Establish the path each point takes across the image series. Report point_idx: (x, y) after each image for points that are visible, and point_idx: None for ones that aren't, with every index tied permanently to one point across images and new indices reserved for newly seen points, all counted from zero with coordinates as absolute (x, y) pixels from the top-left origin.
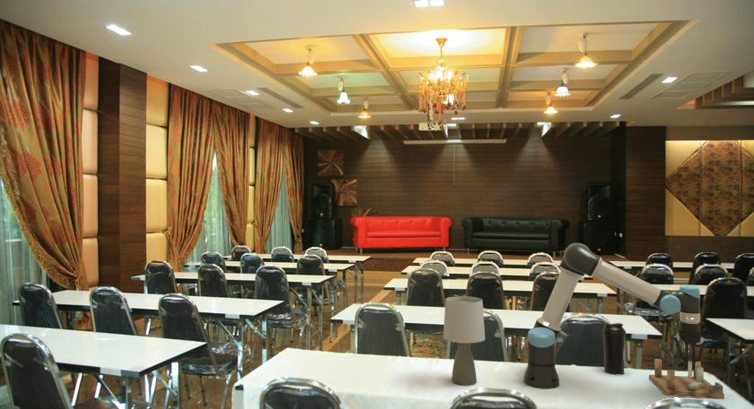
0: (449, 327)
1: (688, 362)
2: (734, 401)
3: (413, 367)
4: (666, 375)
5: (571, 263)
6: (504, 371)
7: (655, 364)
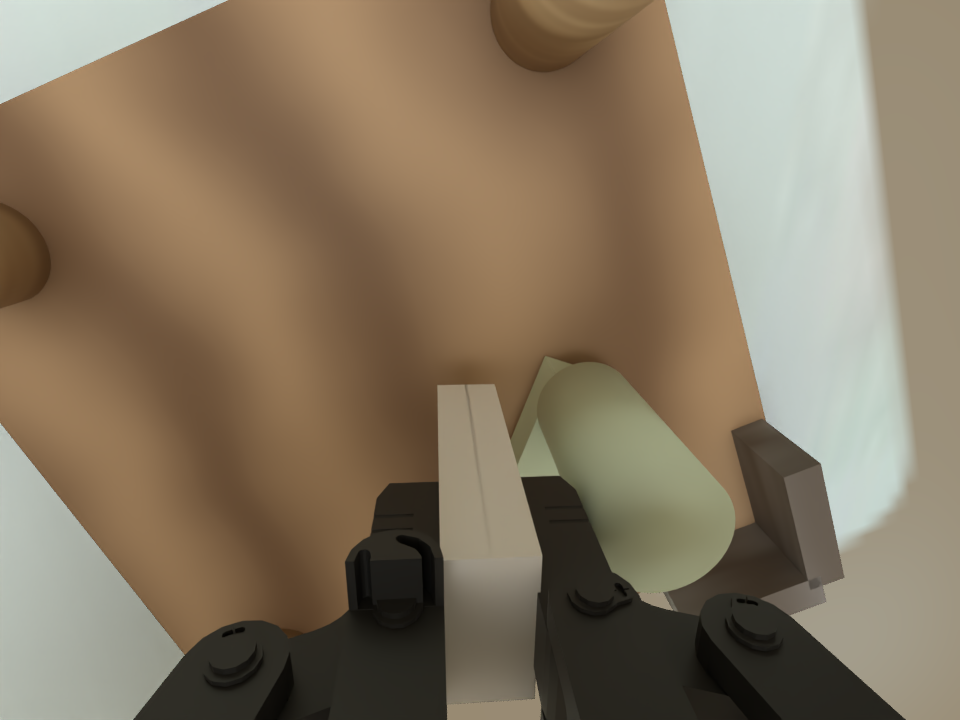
0: None
1: (453, 699)
2: (839, 523)
3: None
4: (73, 86)
5: None
6: None
7: None
